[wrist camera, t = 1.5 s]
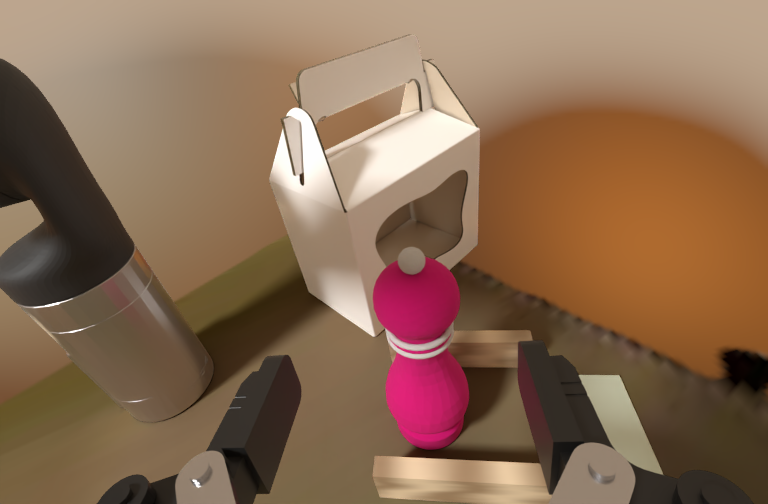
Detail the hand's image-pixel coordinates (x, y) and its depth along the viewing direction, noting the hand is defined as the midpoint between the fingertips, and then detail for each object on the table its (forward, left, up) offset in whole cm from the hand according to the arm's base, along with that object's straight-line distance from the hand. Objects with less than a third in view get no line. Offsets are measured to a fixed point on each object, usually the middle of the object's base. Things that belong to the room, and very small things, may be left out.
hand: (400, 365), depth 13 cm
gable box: (-5, +33, -23) cm, 41 cm away
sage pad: (+14, +11, -23) cm, 29 cm away
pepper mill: (0, +11, -23) cm, 26 cm away
